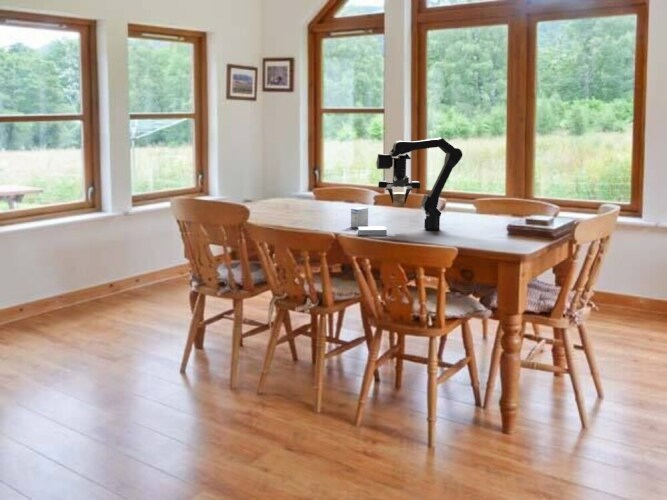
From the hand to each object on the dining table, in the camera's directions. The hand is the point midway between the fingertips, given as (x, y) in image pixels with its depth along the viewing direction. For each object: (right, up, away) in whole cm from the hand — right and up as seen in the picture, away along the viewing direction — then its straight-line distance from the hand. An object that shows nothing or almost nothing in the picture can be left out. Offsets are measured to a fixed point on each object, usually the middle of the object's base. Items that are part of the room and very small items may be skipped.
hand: (398, 203), depth 348 cm
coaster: (-10, -12, +4) cm, 16 cm away
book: (-12, -14, -8) cm, 21 cm away
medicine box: (-17, -10, +13) cm, 24 cm away
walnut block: (0, -1, 0) cm, 1 cm away
